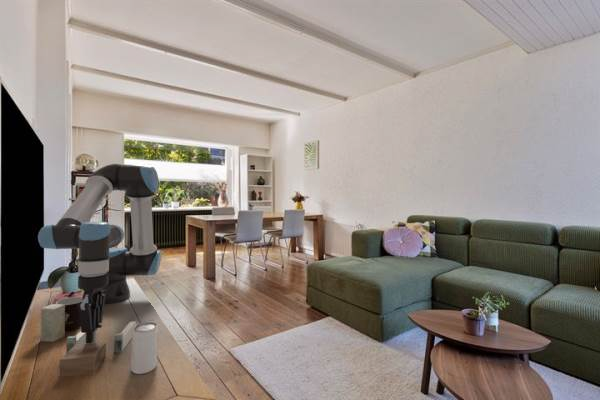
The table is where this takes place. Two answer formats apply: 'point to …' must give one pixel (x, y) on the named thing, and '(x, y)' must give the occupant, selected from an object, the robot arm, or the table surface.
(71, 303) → the coffee mug
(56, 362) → the table surface
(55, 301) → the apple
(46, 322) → the box
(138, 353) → the can
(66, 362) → the block
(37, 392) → the table surface
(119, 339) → the chute
